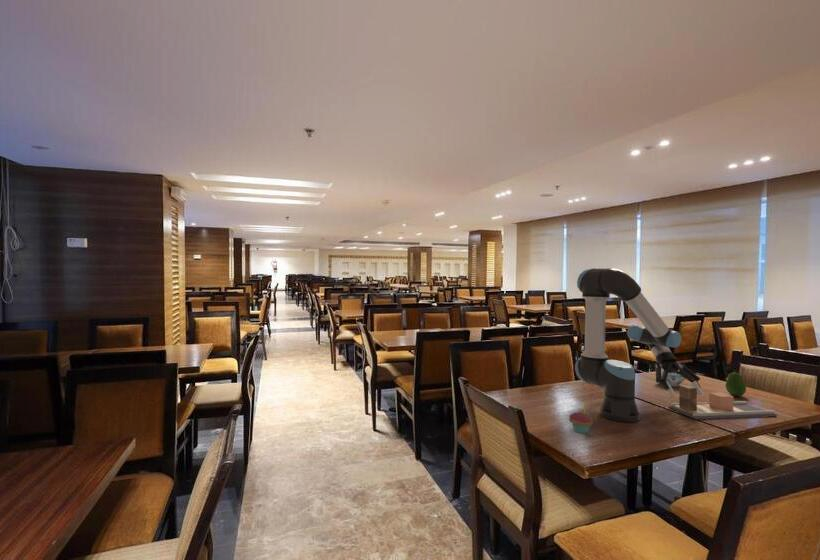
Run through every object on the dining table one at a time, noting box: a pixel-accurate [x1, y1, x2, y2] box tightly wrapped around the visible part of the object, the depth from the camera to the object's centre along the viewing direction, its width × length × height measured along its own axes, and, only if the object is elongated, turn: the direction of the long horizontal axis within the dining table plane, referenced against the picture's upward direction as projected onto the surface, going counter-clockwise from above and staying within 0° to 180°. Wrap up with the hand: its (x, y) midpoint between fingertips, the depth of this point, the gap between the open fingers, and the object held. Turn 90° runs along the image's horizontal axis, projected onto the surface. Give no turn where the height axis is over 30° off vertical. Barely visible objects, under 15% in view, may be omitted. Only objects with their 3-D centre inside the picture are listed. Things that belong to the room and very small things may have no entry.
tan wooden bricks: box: [674, 384, 744, 415], centre depth 174 cm, size 26×10×11 cm, turn 95°
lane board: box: [668, 400, 778, 420], centre depth 175 cm, size 38×15×2 cm, turn 95°
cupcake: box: [568, 402, 594, 434], centre depth 153 cm, size 9×8×12 cm
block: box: [708, 391, 734, 410], centre depth 175 cm, size 6×6×6 cm
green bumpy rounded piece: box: [725, 371, 747, 397], centre depth 199 cm, size 8×8×12 cm
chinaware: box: [654, 368, 687, 387], centre depth 220 cm, size 15×15×8 cm
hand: (687, 395), depth 175 cm, fingers open, 13 cm apart
